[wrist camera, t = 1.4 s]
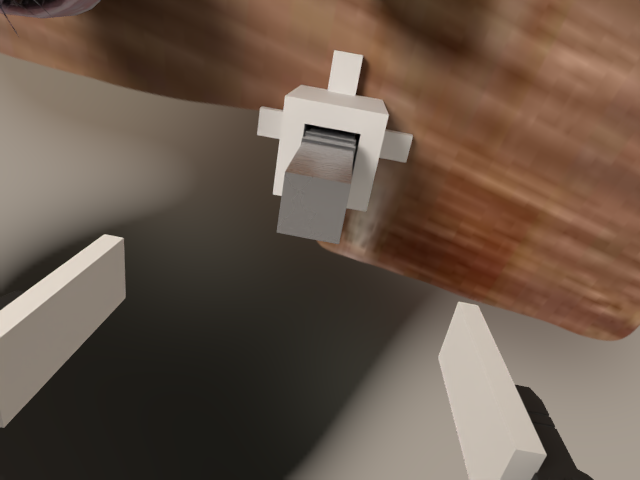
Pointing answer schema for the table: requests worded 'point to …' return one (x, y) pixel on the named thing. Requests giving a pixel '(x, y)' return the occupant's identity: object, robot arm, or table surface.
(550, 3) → the table surface
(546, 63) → the table surface
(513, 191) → the table surface
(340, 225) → the post
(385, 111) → the housing
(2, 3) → the potted plant
